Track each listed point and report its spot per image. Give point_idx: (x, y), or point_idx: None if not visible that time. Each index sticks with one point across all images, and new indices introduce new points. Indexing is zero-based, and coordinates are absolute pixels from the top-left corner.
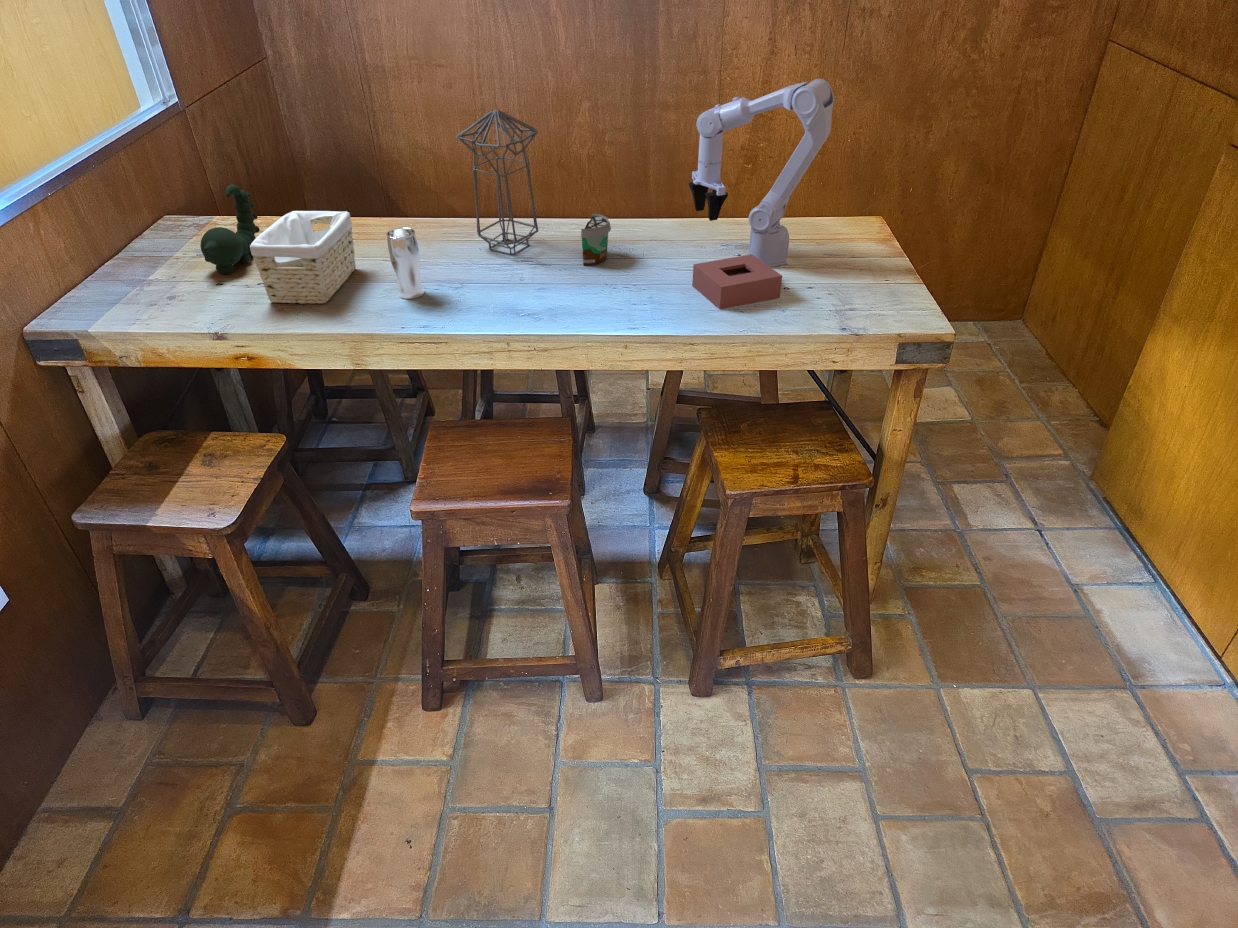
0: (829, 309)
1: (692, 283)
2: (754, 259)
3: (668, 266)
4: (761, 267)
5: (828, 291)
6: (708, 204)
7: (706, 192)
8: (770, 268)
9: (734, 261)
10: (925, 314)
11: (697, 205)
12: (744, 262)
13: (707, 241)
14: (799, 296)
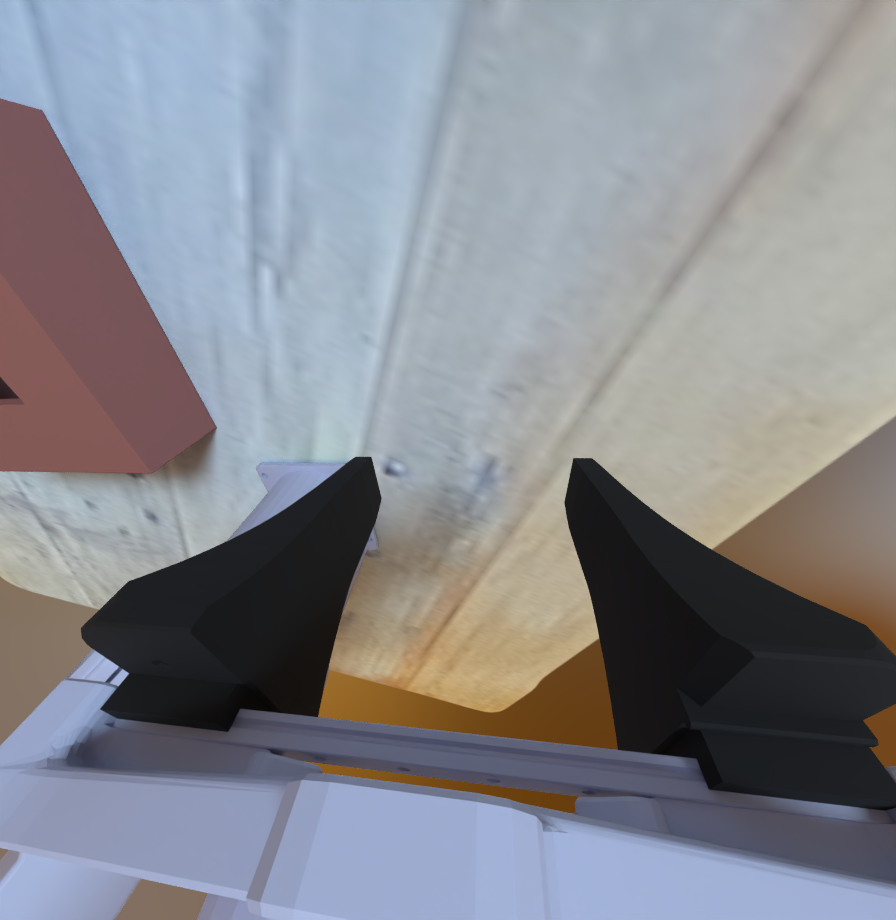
0: (29, 495)
1: (22, 105)
2: (93, 458)
3: (318, 59)
4: (9, 444)
5: (140, 537)
6: (283, 532)
7: (602, 638)
8: (16, 467)
9: (35, 373)
10: (77, 599)
11: (586, 492)
12: (41, 409)
13: (558, 435)
14: (87, 475)
